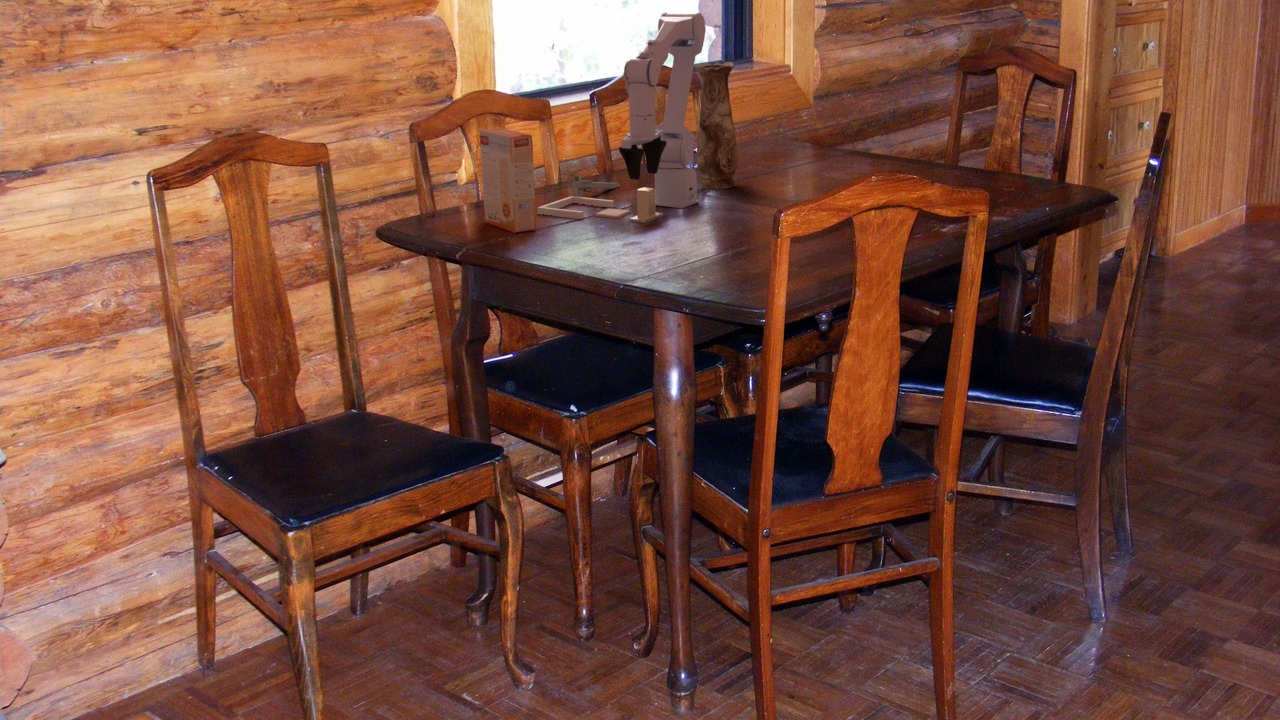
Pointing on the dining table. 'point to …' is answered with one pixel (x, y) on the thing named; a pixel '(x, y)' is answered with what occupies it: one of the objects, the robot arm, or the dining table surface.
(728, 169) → the vase
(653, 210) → the scraper
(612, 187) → the caliper
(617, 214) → the tile
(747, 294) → the dining table surface
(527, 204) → the cracker box
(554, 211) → the frame
